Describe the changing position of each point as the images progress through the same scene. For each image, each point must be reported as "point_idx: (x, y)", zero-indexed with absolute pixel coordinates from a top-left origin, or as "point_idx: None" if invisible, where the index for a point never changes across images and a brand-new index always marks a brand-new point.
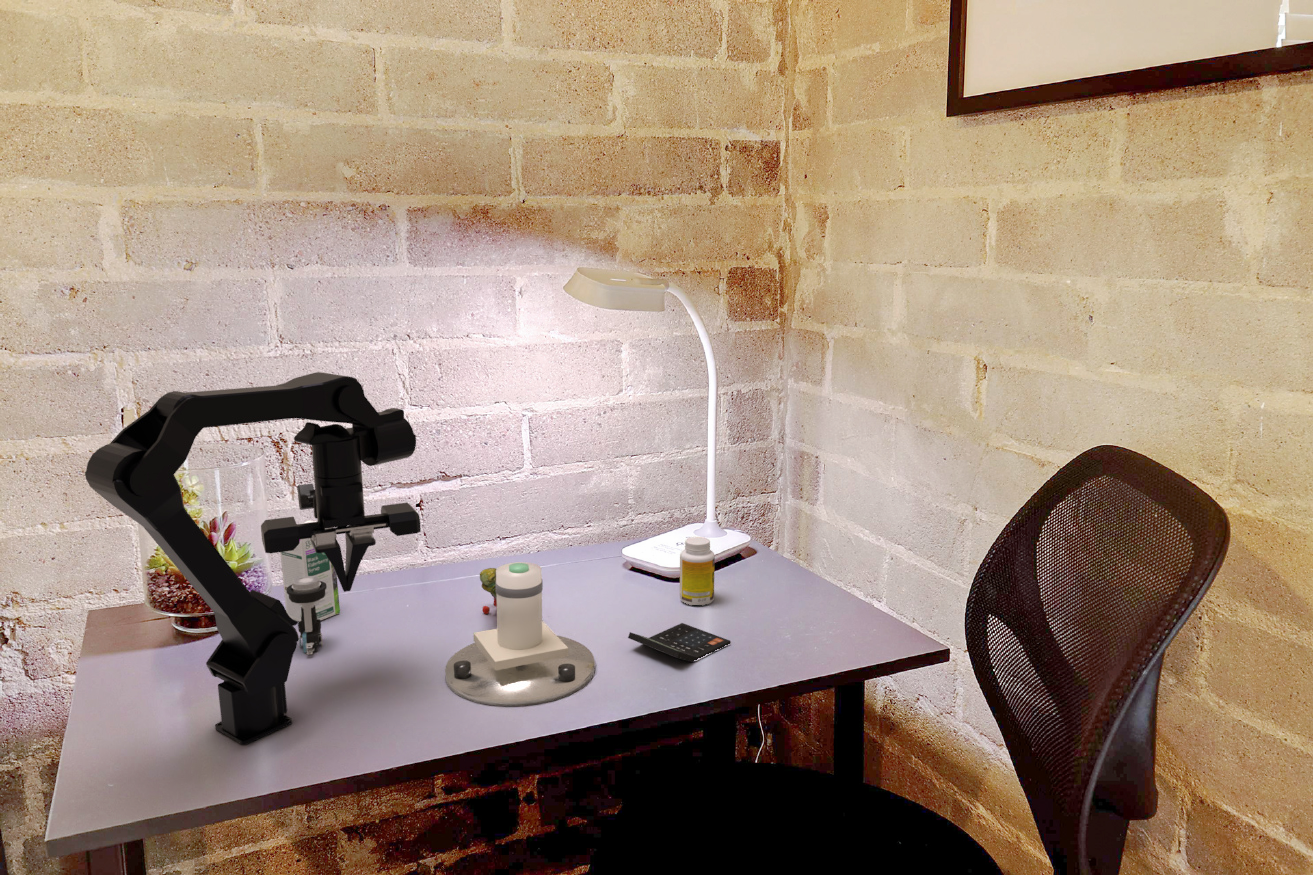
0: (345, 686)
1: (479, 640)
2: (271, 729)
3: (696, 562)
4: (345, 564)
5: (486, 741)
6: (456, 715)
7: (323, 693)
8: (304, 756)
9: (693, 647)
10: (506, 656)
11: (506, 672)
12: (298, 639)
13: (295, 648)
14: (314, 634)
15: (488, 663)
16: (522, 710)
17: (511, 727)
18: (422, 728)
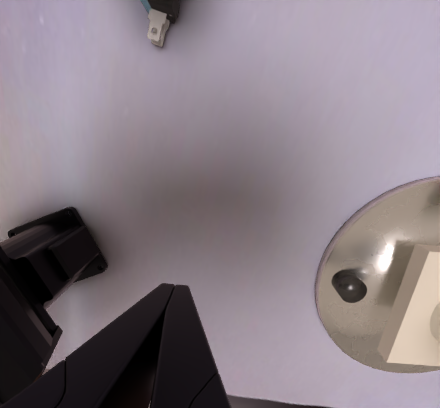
0: (191, 198)
1: (416, 286)
2: (79, 280)
3: None
4: (156, 365)
5: (291, 395)
6: (290, 340)
7: (158, 203)
8: None
9: None
10: (411, 355)
11: None
12: (41, 373)
13: (50, 346)
14: (165, 2)
15: (395, 265)
16: (357, 364)
17: (327, 386)
18: (245, 346)
